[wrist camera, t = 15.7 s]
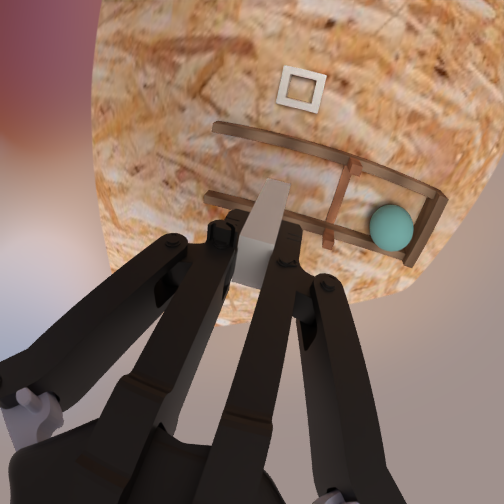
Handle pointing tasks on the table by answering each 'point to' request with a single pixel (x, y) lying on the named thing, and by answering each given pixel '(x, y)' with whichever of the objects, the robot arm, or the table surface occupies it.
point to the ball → (391, 228)
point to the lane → (339, 194)
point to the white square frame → (295, 103)
